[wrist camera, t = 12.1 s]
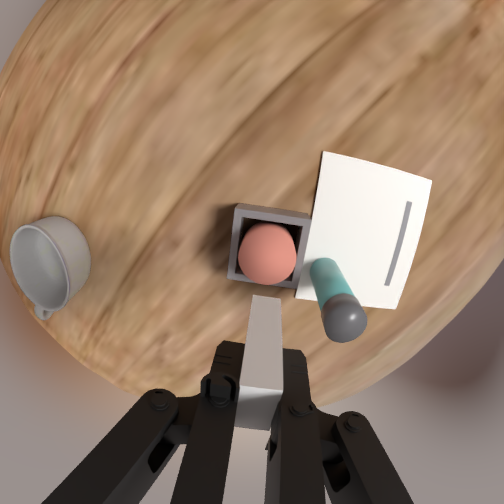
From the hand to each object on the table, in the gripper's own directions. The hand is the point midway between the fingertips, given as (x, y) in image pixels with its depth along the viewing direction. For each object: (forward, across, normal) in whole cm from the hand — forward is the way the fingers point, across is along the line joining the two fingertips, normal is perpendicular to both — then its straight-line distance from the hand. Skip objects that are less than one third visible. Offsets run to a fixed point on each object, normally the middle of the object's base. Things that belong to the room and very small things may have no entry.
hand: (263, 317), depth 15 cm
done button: (+13, 0, 0) cm, 13 cm away
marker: (+14, +6, -2) cm, 16 cm away
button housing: (+14, 0, 0) cm, 14 cm away
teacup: (+15, -26, -6) cm, 31 cm away
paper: (+14, +10, +2) cm, 18 cm away
